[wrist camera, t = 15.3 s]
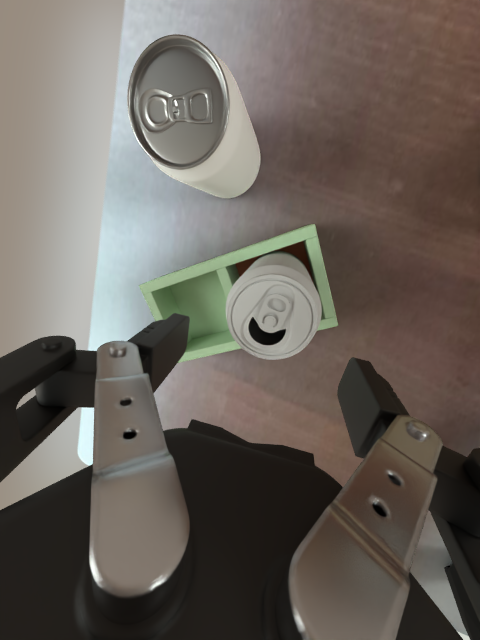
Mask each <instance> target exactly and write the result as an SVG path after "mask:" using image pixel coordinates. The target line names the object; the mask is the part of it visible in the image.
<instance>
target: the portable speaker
mask: <svg viewBox="0 0 480 640" xmlns="http://www.w3.org/2000/svg"><path fill="white" fill-rule="evenodd" d="M444 569H445V571H446V574H447V577H448V580H449V583H450V586H451V589H452V592H453V595H454V598H455V601H456V604H457V607H458V610H459V613H460V616H461V618H462V621H463V624H464V626H465V629H466V631H467V633H468V635H469V637H470V640H480V621H479V619H478V617H477V614H476V612H475V610H474V608H473V606H472V603H471V601H470V599H469V597H468V594H467V592H466V590H465V588H464V586H463V583H462V581H461V579H460V577H459V574H458V572H457V570H456V568H455V566H454V563H453V564H452V565H451V566H450V567H449V568H448V566H447V567H445V568H444Z"/></svg>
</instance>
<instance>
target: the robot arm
mask: <svg viewBox="0 0 480 640" xmlns="http://www.w3.org/2000/svg"><path fill="white" fill-rule="evenodd" d="M189 323H190V318H189V316H185V315H181V314H177V313H173V314H172V315H171V316H170V317H168V318H167V319H166V320H158V321H155V322H152V323H151V324H150V325H148V326H147V328H144V329H143V330H142V331H140V332H139V333H137V334H136V335H135V336H133V337H132V338H131V339H129V340H128V341H113V342H108V343H105V344H103V345H101V346H100V347H99V348H98V350H97V351H85V350H76V343H75V341H74V340H73V339H72V338H70V337H66V336H49V337H44V338H40V339H38V340H35V341H33V342H31V343H29V344H27V345H25V346H23V347H21V348H19V349H17V350H15V351H13V352H11V353H9V354H7V355H5V356H3V357H1V358H0V482H1V481H2V480H3V479H4V478H5V477H6V476H8V475H9V474H10V473H11V471H13V470H14V469H15V468H16V467H17V466H18V465H19V464H20V463H21V462H22V461H23V460H24V459H25V458H26V457H27V456H28V455H29V454H30V453H31V452H32V451H33V450H34V449H35V448H36V447H37V446H38V445H39V444H41V443H42V442H43V441H44V440H45V439H46V438H47V437H48V436H49V435H50V434H51V433H52V432H53V431H54V430H55V429H56V428H57V427H58V426H59V425H60V424H61V423H62V422H63V421H64V420H65V419H66V418H67V417H68V416H69V415H70V414H71V413H72V412H73V411H75V410H76V408H78V407H94V444H93V464H92V465H90V466H88V467H87V468H84V469H82V470H80V471H78V472H76V473H74V474H72V475H70V476H68V477H66V478H64V479H62V480H60V481H58V482H56V483H54V484H52V485H50V486H48V487H46V488H44V489H42V490H40V491H38V492H36V493H34V494H32V495H30V496H28V497H26V498H24V499H22V500H20V501H18V502H16V503H14V504H12V505H10V506H8V507H6V508H4V509H2V510H0V640H463V639H462V637H461V636H460V635H459V634H458V632H457V631H456V630H455V629H454V627H453V626H452V625H451V623H450V622H449V621H448V620H447V618H446V617H445V616H444V615H443V613H442V612H441V611H440V610H439V608H438V607H437V606H436V604H435V603H434V602H433V601H432V599H431V598H430V597H429V596H428V594H427V593H426V592H425V590H424V589H423V588H422V587H421V585H420V584H419V583H418V582H417V580H416V579H415V578H414V576H413V575H412V574H411V573H410V568H411V565H412V561H413V558H414V555H415V551H416V548H417V545H418V542H419V538H420V535H421V532H422V528H423V525H424V522H425V519H426V515H427V512H428V510H429V511H430V512H431V515H432V517H433V519H434V521H435V523H436V526H437V528H438V530H439V532H440V535H441V537H442V539H443V541H444V543H445V546H446V548H447V550H448V552H449V554H450V557H451V559H452V561H453V563H454V566H455V568H456V570H457V572H458V574H459V577H460V579H461V581H462V583H463V586H464V588H465V590H466V592H467V594H468V597H469V599H470V601H471V603H472V606H473V608H474V610H475V612H476V614H477V617H478V619H479V621H480V448H476V449H474V450H473V451H472V452H471V453H470V454H469V456H468V457H466V456H463V455H461V454H459V453H457V452H455V451H453V450H451V449H448V448H446V447H444V446H442V444H443V443H442V440H441V438H440V436H439V435H438V434H437V433H436V432H435V431H434V430H433V429H432V428H431V427H430V426H428V425H427V424H425V423H424V422H422V421H420V420H418V419H416V418H414V417H411V416H410V415H409V414H408V412H407V410H406V409H405V407H404V406H403V404H402V403H401V401H400V400H399V398H397V395H396V393H395V392H393V389H392V387H391V386H390V384H389V383H388V382H387V381H386V380H385V379H384V378H383V377H382V376H380V375H379V374H377V372H376V371H375V369H374V368H373V366H372V364H371V363H370V362H369V361H365V360H361V359H357V358H351V359H350V360H349V362H348V364H347V367H346V369H345V372H344V374H343V376H342V379H341V381H340V383H339V386H338V399H339V403H340V406H341V409H342V413H343V416H344V419H345V423H346V426H347V429H348V433H349V436H350V439H351V443H352V446H353V449H354V453H355V456H357V457H360V458H364V459H363V461H362V462H361V463H360V465H359V466H358V468H357V469H356V470H355V472H354V473H353V475H352V476H351V477H350V479H349V480H348V481H347V483H346V484H345V486H344V487H342V486H341V485H340V484H339V483H338V482H337V481H336V480H335V479H334V478H332V477H331V476H330V475H329V474H327V473H326V472H325V471H323V470H321V469H320V468H318V467H316V466H315V464H314V455H313V454H312V453H308V452H305V451H301V450H298V449H294V448H291V447H287V446H284V445H272V444H256V443H249V442H247V441H245V440H243V439H241V438H240V437H238V436H236V435H234V434H232V433H230V432H228V431H226V430H225V429H223V428H221V427H218V426H214V425H211V424H207V423H204V422H200V421H197V420H193V419H192V420H191V422H190V424H189V426H188V428H176V429H169V430H165V431H163V429H162V425H161V422H160V418H159V414H158V410H157V406H156V402H155V398H154V394H153V393H154V392H155V391H156V389H157V388H158V387H159V386H160V384H161V383H162V382H163V381H164V379H165V378H166V377H167V375H168V374H169V373H170V372H171V370H172V369H173V368H174V367H175V365H176V364H177V363H178V361H179V360H180V359H181V358H182V356H183V355H184V353H185V350H186V347H187V340H188V332H189ZM34 388H35V391H36V395H35V396H34V397H33V398H31V399H30V400H29V401H27V402H26V403H25V404H23V405H22V406H21V407H19V408H18V409H17V410H16V407H17V404H18V402H19V401H20V399H21V398H22V397H23V396H24V395H25V394H27V393H28V392H30V391H31V390H32V389H34Z"/></svg>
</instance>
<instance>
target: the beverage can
mask: <svg viewBox="0 0 480 640" xmlns="http://www.w3.org/2000/svg"><path fill="white" fill-rule="evenodd" d="M321 315H322V306H321V301H320V297H319V294H318V292H317V290H316V288H315V286H314V284H313V282H312V280H311V277H310V275H309V273H308V271H307V269H306V267H305V265H304V264H303V262H302V261H301V260H300V259H299V258H297V257H296V256H295V255H293V254H291V253H288V252H284V251H274V252H269V253H266V254H264V255H262V256H261V257H259V258H258V259H257V260H256V261H255V262H254V263H253V264H252V265H251V266H250V267H249V268H248V269H247V270H246V271H245V272H244V274H243V275H242V276H241V277H240V278H239V279H238V280H237V281H236V282H235V284H234V285H233V286H232V288H231V290H230V292H229V294H228V297H227V301H226V319H227V324H228V328H229V331H230V333H231V335H232V337H233V339H234V340H235V341H236V343H237V344H238V345H239V346H240V347H241V348H242V349H243V350H245V351H246V352H248V353H250V354H251V355H254V356H256V357H259V358H263V359H269V360H277V359H284V358H288V357H290V356H293V355H295V354H297V353H298V352H300V351H301V350H303V349H304V348H305V347H306V346H307V345H308V344H309V343H310V341H311V340H312V338H313V336H314V335H315V333H316V331H317V330H318V327H319V324H320V321H321Z"/></svg>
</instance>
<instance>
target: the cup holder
mask: <svg viewBox="0 0 480 640" xmlns="http://www.w3.org/2000/svg"><path fill="white" fill-rule="evenodd" d="M274 251H284V252H288V253H291V254H293V255H295V256H296V257H297V258H299V259H300V260H301V261H302V262H303V264H304V265H305V267H306V269H307V271H308V273H309V275H310V277H311V280H312V282H313V284H314V286H315V288H316V290H317V292H318V294H319V297H320V301H321V306H322V315H321V321H320V324H319V327H318V330H322V329H327V328H331V327H335V326H338V321H337V317H336V313H335V309H334V304H333V300H332V296H331V291H330V287H329V283H328V279H327V274H326V270H325V266H324V261H323V257H322V253H321V249H320V244H319V240H318V237H317V231H316V227H315V224H309V225H306V226H304V227H301V228H298V229H295V230H292V231H289V232H287V233H284V234H281V235H278V236H275V237H272V238H269V239H267V240H264V241H261V242H258V243H255V244H252V245H250V246H247V247H244V248H241V249H238V250H235V251H232V252H230V253H227V254H224V255H221V256H218V257H215V258H213V259H210V260H207V261H204V262H201V263H198V264H195V265H193V266H190V267H187V268H184V269H181V270H178V271H176V272H173V273H170V274H167V275H164V276H161V277H159V278H156V279H154V280H151V281H149V282H146V283H144V284H141V285H139V287H140V289H141V291H142V294H143V296H144V298H145V300H146V302H147V304H148V306H149V308H150V311H151V313H152V315H153V317H154V319H155V321H158V320H166V319H167V318H168V317H170V316H171V315H172V314H173V313H177V314H181V315H185V316H189V318H190V323H189V332H188V340H187V347H186V350H185V353H184V355H183V356H182V358H181V359H180V360H179V361H178V363H180V362H184V361H188V360H193V359H197V358H201V357H205V356H210V355H214V354H218V353H223V352H227V351H231V350H236V349H240V348H241V347H240V346H239V345H238V344H237V343H236V341H235V340H234V339H233V337H232V335H231V333H230V331H229V328H228V324H227V319H226V301H227V297H228V294H229V292H230V290H231V288H232V286H233V285H234V284H235V282H236V281H237V280H238V279H239V278H240V277H241V276H242V275H243V274H244V272H245V271H246V270H247V269H248V268H249V267H250V266H251V265H252V264H253V263H254V262H255V261H256V260H257V259H258V258H259V257H261V256H262V255H264V254H266V253H269V252H274ZM318 330H317V331H318Z"/></svg>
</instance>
